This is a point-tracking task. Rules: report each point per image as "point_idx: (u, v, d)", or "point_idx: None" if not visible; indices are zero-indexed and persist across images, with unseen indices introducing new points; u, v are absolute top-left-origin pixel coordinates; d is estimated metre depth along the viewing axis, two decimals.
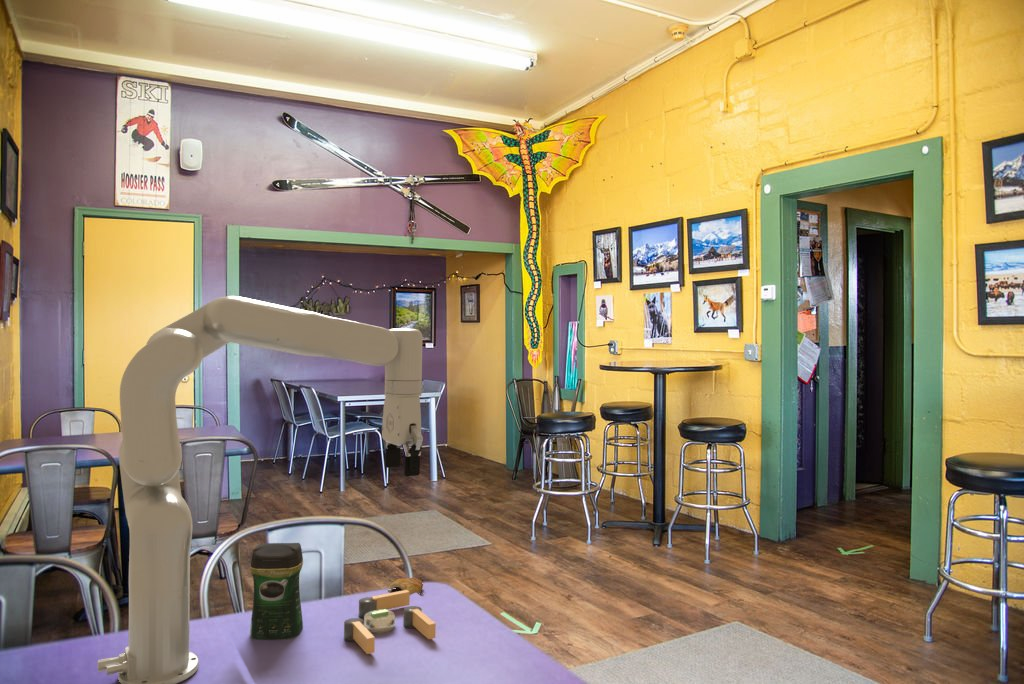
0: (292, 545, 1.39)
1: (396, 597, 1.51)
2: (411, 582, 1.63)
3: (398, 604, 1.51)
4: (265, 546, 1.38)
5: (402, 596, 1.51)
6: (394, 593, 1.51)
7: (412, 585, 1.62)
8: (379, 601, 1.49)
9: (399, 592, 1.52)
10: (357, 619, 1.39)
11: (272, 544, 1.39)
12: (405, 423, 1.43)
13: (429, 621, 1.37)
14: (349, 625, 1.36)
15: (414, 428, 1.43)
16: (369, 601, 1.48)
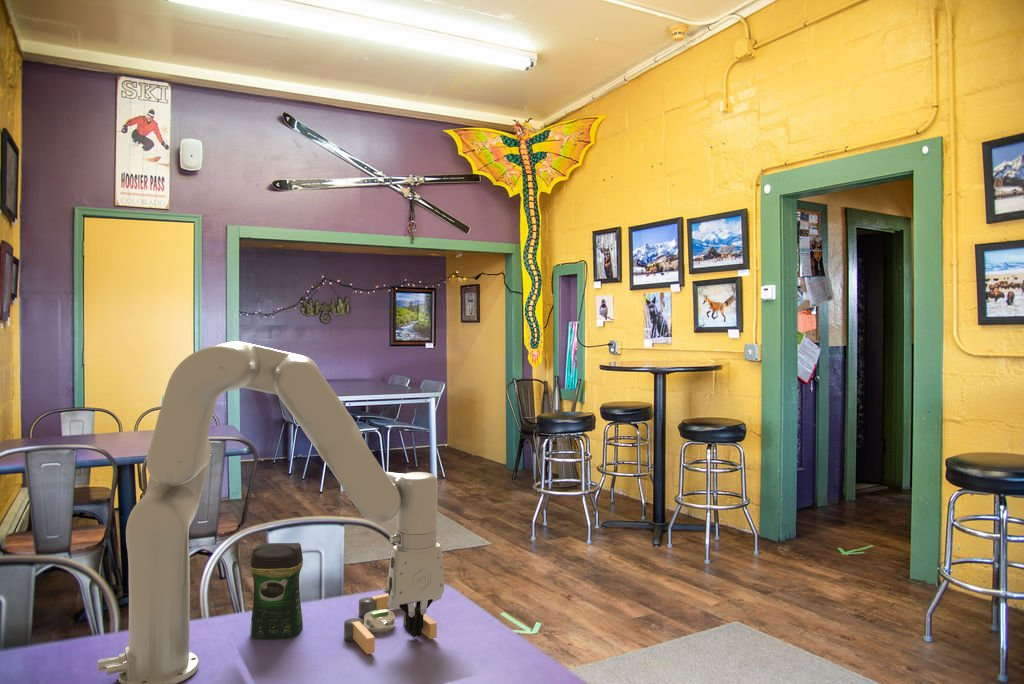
0: (292, 545, 1.39)
1: None
2: None
3: None
4: (265, 546, 1.38)
5: None
6: None
7: None
8: (379, 601, 1.49)
9: None
10: (357, 619, 1.39)
11: (272, 544, 1.39)
12: None
13: (430, 621, 1.38)
14: (349, 625, 1.36)
15: None
16: (369, 601, 1.48)
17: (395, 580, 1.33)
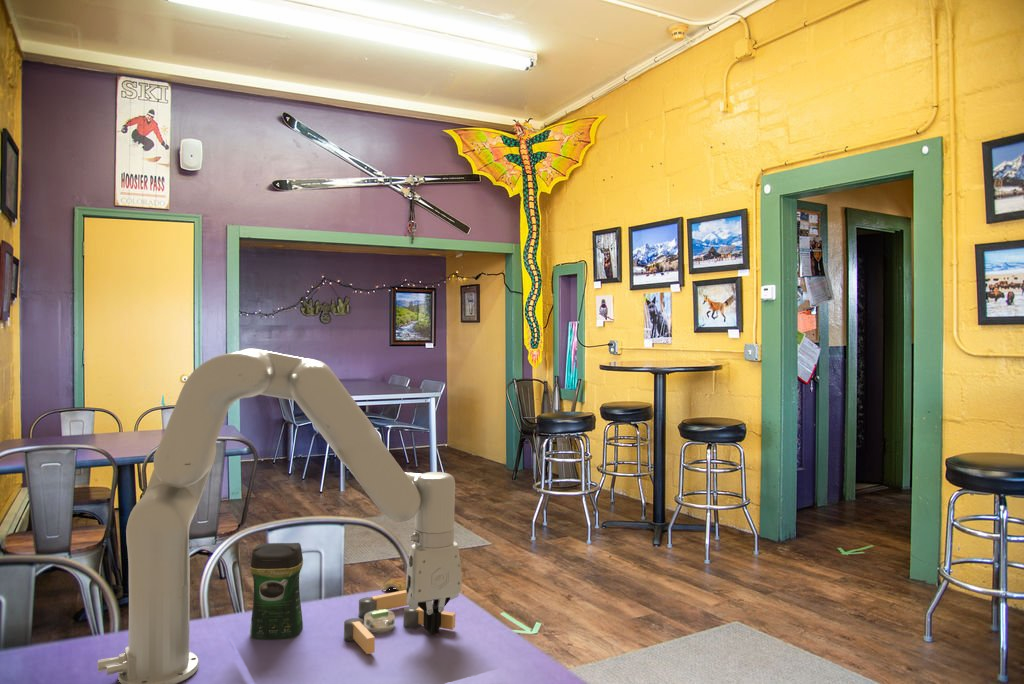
0: (292, 545, 1.39)
1: (396, 597, 1.51)
2: (405, 581, 1.63)
3: (398, 604, 1.51)
4: (265, 546, 1.38)
5: (402, 596, 1.51)
6: (394, 593, 1.51)
7: None
8: (379, 601, 1.49)
9: (399, 592, 1.52)
10: (357, 619, 1.39)
11: (272, 544, 1.39)
12: None
13: (448, 613, 1.42)
14: (349, 625, 1.36)
15: None
16: (369, 601, 1.48)
17: (414, 578, 1.35)
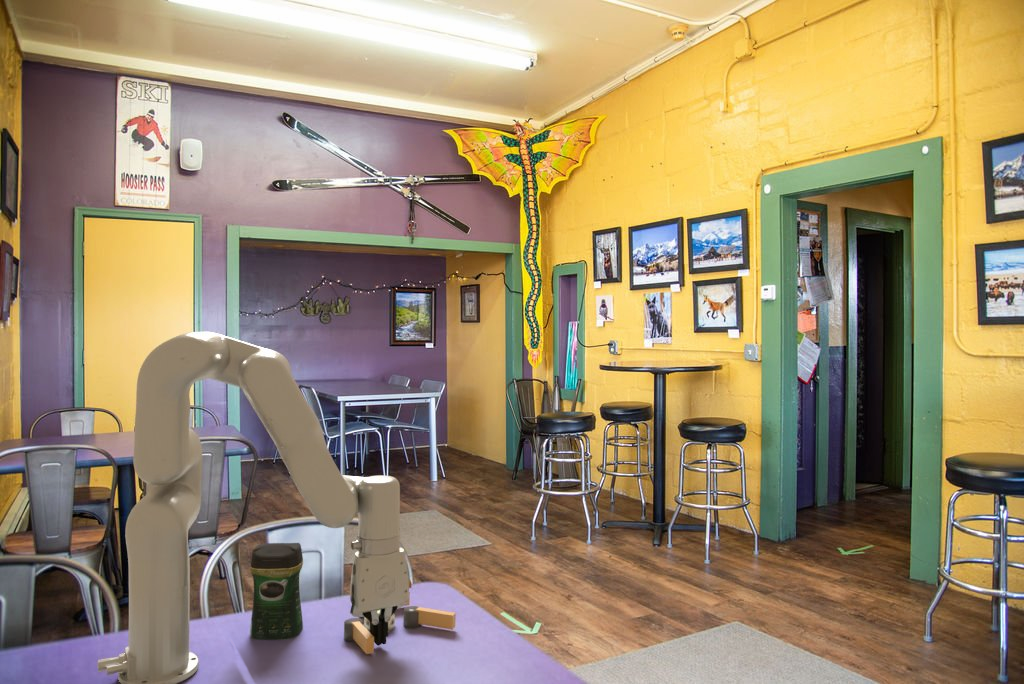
0: (292, 545, 1.39)
1: None
2: None
3: None
4: (265, 546, 1.38)
5: None
6: None
7: None
8: None
9: None
10: (357, 619, 1.39)
11: (272, 544, 1.39)
12: None
13: (448, 613, 1.42)
14: (349, 625, 1.36)
15: None
16: None
17: (357, 587, 1.29)
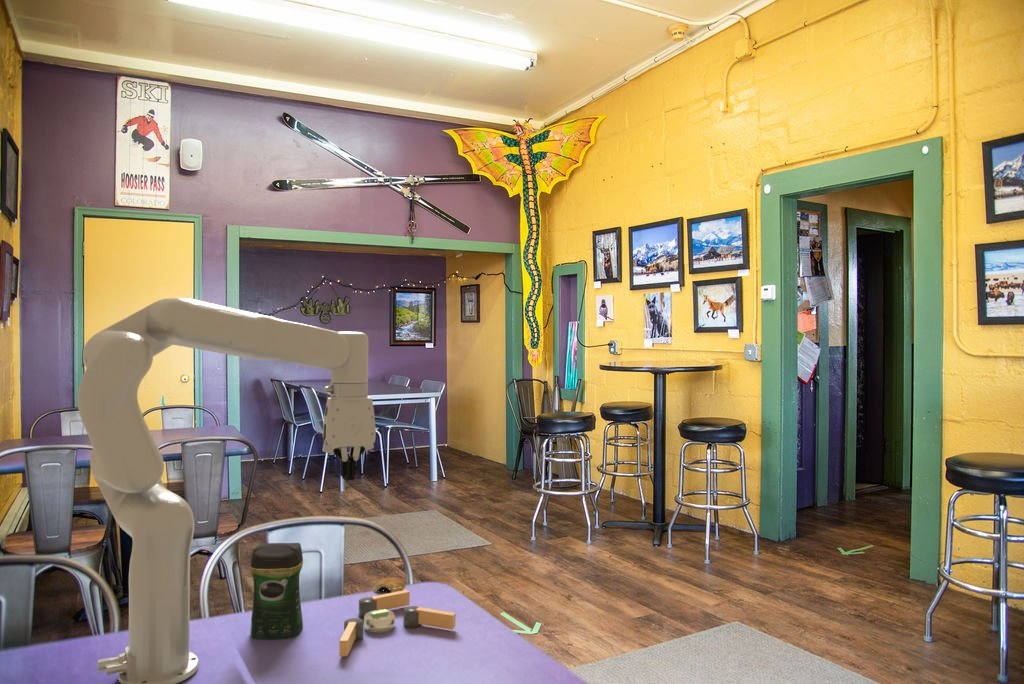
0: (292, 545, 1.39)
1: (396, 597, 1.51)
2: (396, 581, 1.63)
3: (398, 604, 1.51)
4: (265, 546, 1.38)
5: (402, 596, 1.51)
6: (394, 593, 1.51)
7: (398, 584, 1.63)
8: (379, 601, 1.49)
9: (399, 592, 1.52)
10: (359, 620, 1.38)
11: (272, 544, 1.39)
12: None
13: (448, 613, 1.42)
14: (346, 624, 1.36)
15: None
16: (369, 601, 1.48)
17: (328, 425, 1.45)
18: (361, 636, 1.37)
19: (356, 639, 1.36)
